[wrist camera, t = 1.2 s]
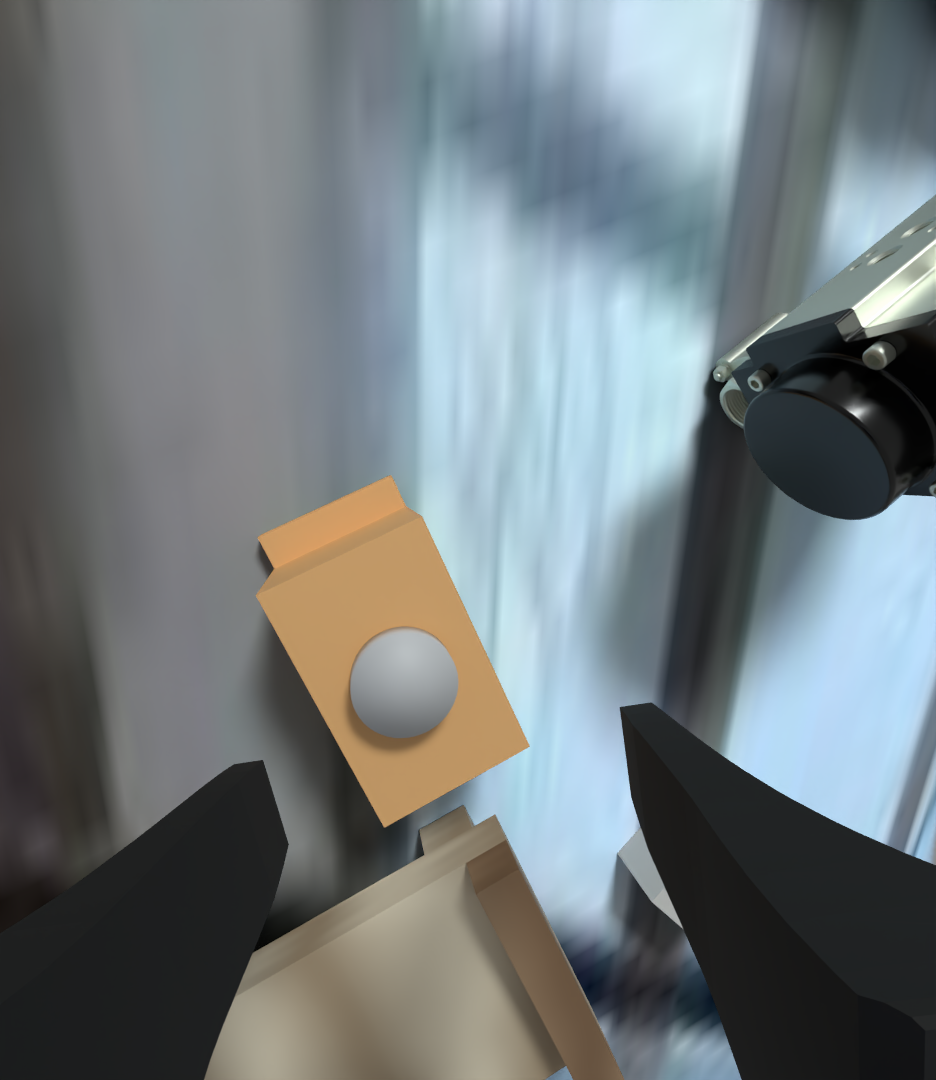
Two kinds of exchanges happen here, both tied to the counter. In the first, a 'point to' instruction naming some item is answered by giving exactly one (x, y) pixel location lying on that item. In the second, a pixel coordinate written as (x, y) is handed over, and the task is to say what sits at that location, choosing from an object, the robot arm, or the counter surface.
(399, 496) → the housing
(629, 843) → the rubber block
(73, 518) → the counter surface
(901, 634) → the counter surface
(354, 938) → the stand
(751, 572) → the counter surface
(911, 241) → the pneumatic valve
